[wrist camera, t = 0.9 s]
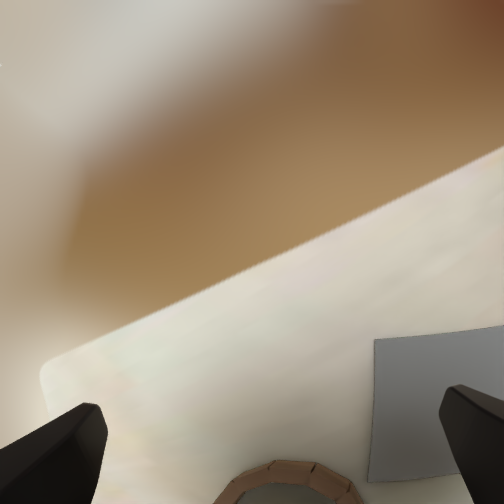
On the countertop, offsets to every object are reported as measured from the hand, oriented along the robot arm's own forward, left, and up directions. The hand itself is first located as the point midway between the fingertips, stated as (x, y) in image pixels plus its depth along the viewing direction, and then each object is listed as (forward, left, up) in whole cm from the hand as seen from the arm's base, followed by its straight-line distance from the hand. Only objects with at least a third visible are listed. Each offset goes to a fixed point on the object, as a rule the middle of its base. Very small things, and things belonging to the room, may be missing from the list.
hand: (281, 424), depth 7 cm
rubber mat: (-1, -7, -12) cm, 14 cm away
